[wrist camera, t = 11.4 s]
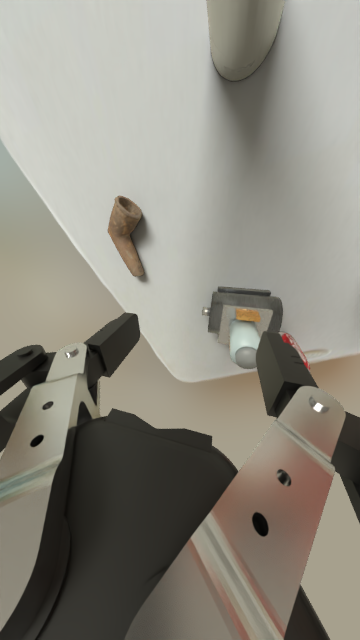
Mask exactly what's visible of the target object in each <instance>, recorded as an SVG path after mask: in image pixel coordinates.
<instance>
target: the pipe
mask: <svg viewBox="0 0 360 640" xmlns="http://www.w3.org/2000/svg"><path fill="white" fill-rule="evenodd" d="M141 216H142V212H141V209H140V208H139V207H138V206H137V205H136V204H135V203H134V202H132V201H131V200H130V199H128V198H126V197H123V196H118V197H116V198H115V204H114V207H113V210H112V213H111V217H110V222H109V227H108V233H109V235H110V236H111V238H112V240H113V242H114V244H115V246H116V248H117V250H118V251H119V253H120V255H121V257H122V259H123V260H124V262H125V264H126V265H127V267H128V269H129V270H130V272H131V273H132V275H133V276H135V277H136V276H142V275H143V274H144V270H143V268H142V265H141V262H140V260H139V258H138V255H137V252H136V250H135V247H134V245H133V243H132V240H131V238H130V233H131V232H132V231H133V230H134V229H135V227H136V225H137V223H138V222H139V220H140V219H141Z"/></svg>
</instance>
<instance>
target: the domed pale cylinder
mask: <svg viewBox="0 0 360 640" xmlns="http://www.w3.org/2000/svg"><path fill="white" fill-rule="evenodd" d="M259 342H260V336H259V333H258V330H257V326H256V324H255V323H254V322H253V321H246V320H237V319H236V320H235V321H233V322H232V323H231V325H230V357H231V359H232V361H233V362H234V363H236V364H237V365H238V366H240V367H242V368H245V369H252V368H255V367H257V365H256V352H257V349H258V345H259Z"/></svg>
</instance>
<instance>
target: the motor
mask: <svg viewBox="0 0 360 640" xmlns="http://www.w3.org/2000/svg"><path fill="white" fill-rule="evenodd" d="M270 294H271V292H270V291H269V290H257V289H244V288H232V287H219V286H218V292H213V295H212V302H211V308H206V307H203V310H202V315H205V316H210V317H209V326H208V332H210V333H217V334H219V337H218V343H221V344H228V345H229V348H230V325H231V323H232V322H233V321H235V320H236V319H237V320H246V321H253V322H254V323H255V324H256V326H257V330H258V333H259V336H260V339H261V336H262V333H263V332H264V331H269V332H277V333H278V332H279V330H280V327H281V322H282V315H283V308H282V302H281V300H280V298H279V297H270Z"/></svg>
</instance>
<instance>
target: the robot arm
mask: <svg viewBox="0 0 360 640" xmlns="http://www.w3.org/2000/svg"><path fill="white" fill-rule="evenodd" d="M284 4H285V0H207V12H208V24H209V35H210V46H211V54H212V58H213V62H214V65H215V67H216V69H217V71H218V72H219V73H220V75H221V76H223V77H224V78H225V79H228V80H230V81H238V80H241V79H244V78H246V77H247V76H249V75H251V74H252V73H253V72H254V71H255V70H256V69H257V68H258V67H259V66H260V64H261V63H262V62H263V60H264V59H265V58H266V56H267V54H268V52H269V50H270V49H271V46H272V44H273V42H274V39H275V37H276V34H277V30H278V27H279V23H280V20H281V16H282V12H283V8H284ZM139 338H140V329H139V322H138V316H137V315H136V314H133V313H124V314H122V315H121V316H120V317H119V318H118V319H115V320H113V321H111V322H109V323H108V324H107V325H105V327H103V328H102V329H100V331H98V332H97V333H95V334H94V335H93V336H92V337H91V338H89V339H88V340H87V341H86V342H84V343H73V344H70V345H67V346H65V347H63V348H61V349H60V350H59V351H58V352H52V353H46V352H45V350H44V349H43V347H42V346H41V345H31V346H27V347H24V348H21V349H19V350H17V351H15V352H13V353H12V354H10V355H9V356H7V357H5V358H4V359H2V360H0V395H2V394H3V393H4V392H6V391H7V390H8V389H9V388H11V387H12V386H13V385H14V384H16V383H17V382H18V381H19V380H22V382H23V383H24V384H25V386H26V387H27V389H26V390H24V391H23V392H22V393H21V394H20V395H19V396H18V397H16V398H15V399H14V400H13V401H12V402H10V403H9V404H8V405H7V406H6V407H5V408H3V409H2V410H1V411H0V452H1V451H2V450H3V449H4V448H5V447H6V448H5V450H4V452H3V455H2V457H1V459H0V640H330V638H329V637H328V634H327V633H326V631H325V629H324V627H323V625H322V623H321V621H320V620H319V618H318V616H317V614H316V612H315V611H314V609H313V607H312V605H311V603H310V601H309V599H308V598H307V596H306V594H305V592H304V590H303V588H302V586H301V585H300V583H301V580H302V576H303V574H304V570H305V567H306V564H307V561H308V557H309V554H310V551H311V548H312V545H313V541H314V538H315V535H316V531H317V529H318V525H319V522H320V519H321V516H322V512H323V509H324V506H325V503H326V500H327V496H328V493H329V490H330V487H331V483H332V480H333V477H334V473H335V471H336V472H337V473H339V474H340V476H341V479H342V481H343V484H344V486H345V489H346V491H347V493H348V496H349V498H350V501H351V503H352V506H353V508H354V511H355V513H356V516H357V518H358V520H359V523H360V418H359V417H357V416H355V415H352V414H350V413H348V412H346V411H344V408H343V407H342V405H341V404H340V403H339V402H338V401H337V400H336V399H335V398H334V397H333V396H331V395H330V394H328V393H327V392H325V391H323V390H321V389H319V388H318V386H317V385H316V383H315V381H314V379H313V378H312V376H311V374H310V372H309V371H308V369H307V367H306V365H304V362H303V360H302V359H301V357H300V355H299V353H298V351H297V350H296V349H295V348H294V347H293V346H292V345H290V344H289V343H285V342H284V341H283V339H282V337H281V335H280V333H277V332H269V331H264V332H263V333H262V336H261V339H260V342H259V345H258V349H257V352H256V365H257V369H258V374H259V378H260V383H261V387H262V392H263V397H264V401H265V406H266V411H267V415H269V416H273V417H277V420H275V421H274V422H273V424H272V425H271V427H270V428H269V429H268V431H267V432H266V434H265V435H264V437H263V438H262V439H261V441H260V442H259V444H258V445H257V446H256V448H255V449H254V451H253V452H252V453H251V455H250V456H249V458H248V459H247V461H246V462H245V463H244V465H243V466H242V468H241V469H240V470H239V472H238V470H237V469H236V467H235V466H234V465H233V464H232V462H231V461H230V460H229V459H228V458H227V457H226V456H225V455H224V454H223V453H222V452H220V451H219V450H218V449H217V448H215V447H214V446H212V436H209V435H206V434H202V433H198V432H195V431H191V430H187V429H156V428H154V427H152V426H151V425H149V424H148V423H146V422H145V421H143V420H142V419H140V418H139V417H137V416H136V415H134V414H131V413H127V412H123V411H120V410H117V409H113V408H112V410H111V412H110V413H109V415H108V416H105V417H100V381H99V378H100V377H101V376H105V377H111V375H112V374H113V373H114V371H115V370H116V369H117V368H118V366H119V365H120V364H121V362H122V361H123V360H124V359H125V357H126V356H127V355H128V354H129V352H130V351H131V350H132V349H133V347H134V346H135V345H136V343H137V342H138V341H139Z"/></svg>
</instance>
